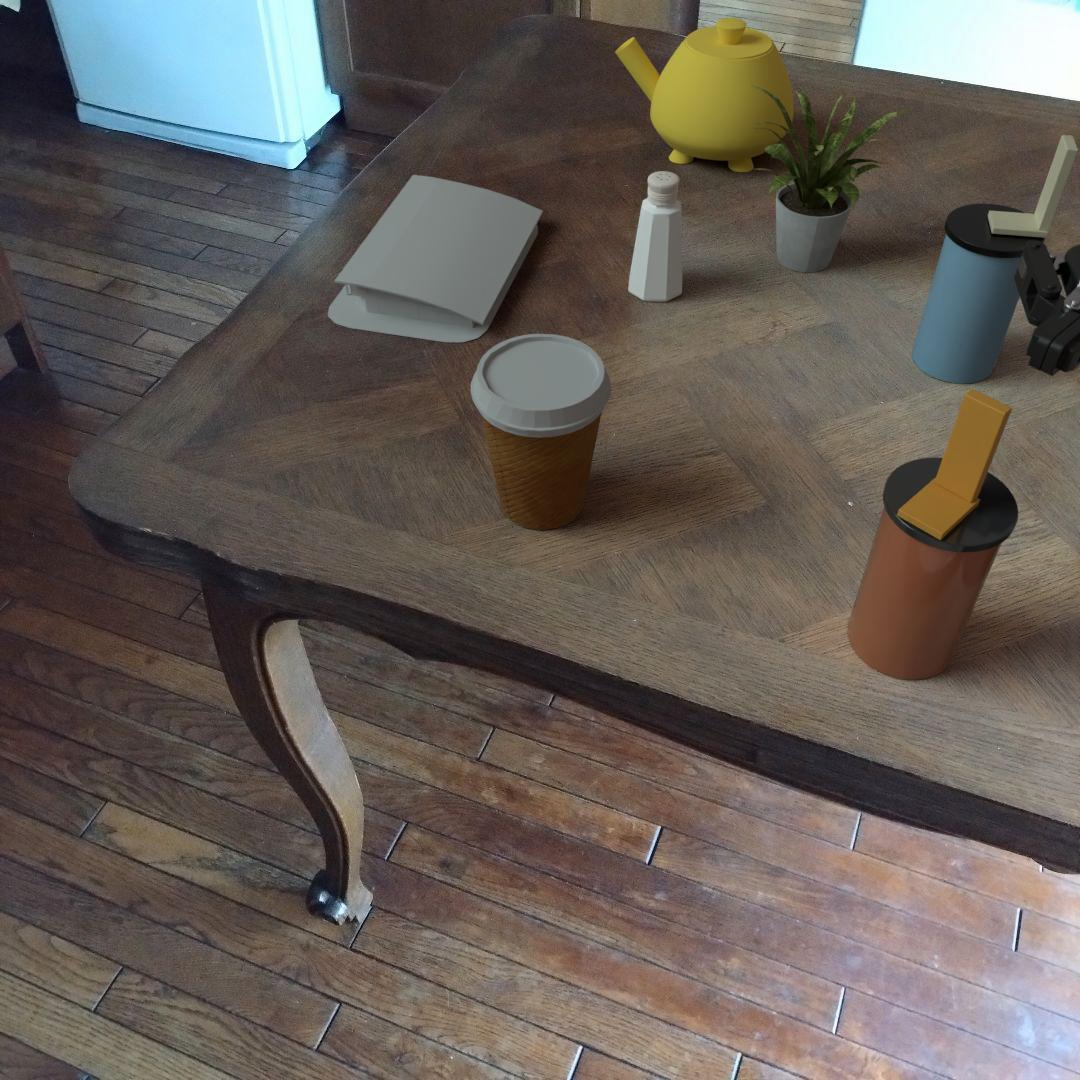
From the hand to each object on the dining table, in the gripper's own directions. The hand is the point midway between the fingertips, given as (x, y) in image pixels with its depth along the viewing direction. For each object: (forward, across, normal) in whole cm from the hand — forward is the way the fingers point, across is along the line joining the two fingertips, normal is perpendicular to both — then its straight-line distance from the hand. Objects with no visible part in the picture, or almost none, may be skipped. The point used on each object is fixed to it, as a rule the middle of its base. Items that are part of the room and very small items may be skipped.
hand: (1045, 357), depth 59 cm
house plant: (-27, -34, +19) cm, 48 cm away
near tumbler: (+7, 0, +19) cm, 20 cm away
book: (-2, -57, +19) cm, 60 cm away
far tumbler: (-23, -14, +19) cm, 33 cm away
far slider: (-24, -13, +6) cm, 28 cm away
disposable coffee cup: (+14, -26, +19) cm, 35 cm away
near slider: (+8, 0, +6) cm, 10 cm away
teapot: (-39, -56, +19) cm, 71 cm away
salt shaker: (-14, -40, +19) cm, 46 cm away
